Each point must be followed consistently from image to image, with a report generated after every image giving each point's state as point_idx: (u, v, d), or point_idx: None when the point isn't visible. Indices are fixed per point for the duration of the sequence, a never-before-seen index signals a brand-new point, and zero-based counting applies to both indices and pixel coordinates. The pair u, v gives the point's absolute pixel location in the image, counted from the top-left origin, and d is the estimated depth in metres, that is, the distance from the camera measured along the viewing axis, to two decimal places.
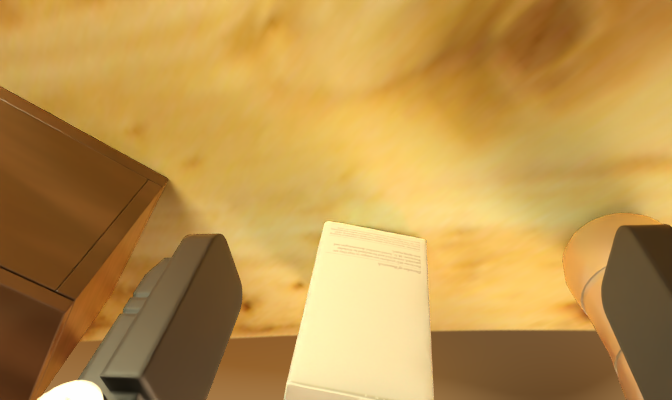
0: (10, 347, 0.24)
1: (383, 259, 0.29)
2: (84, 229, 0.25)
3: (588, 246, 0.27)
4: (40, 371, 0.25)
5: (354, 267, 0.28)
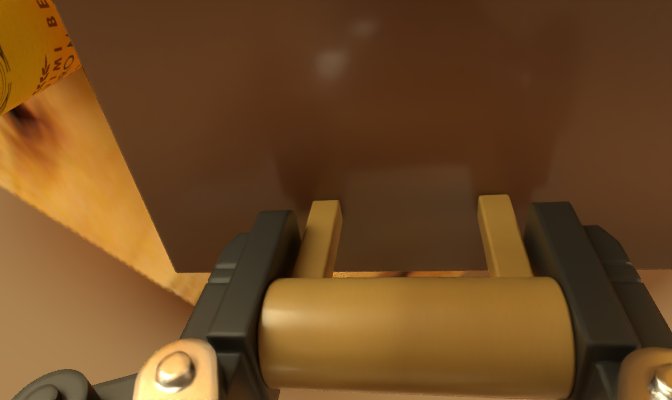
0: None
1: None
2: None
3: None
4: None
5: None
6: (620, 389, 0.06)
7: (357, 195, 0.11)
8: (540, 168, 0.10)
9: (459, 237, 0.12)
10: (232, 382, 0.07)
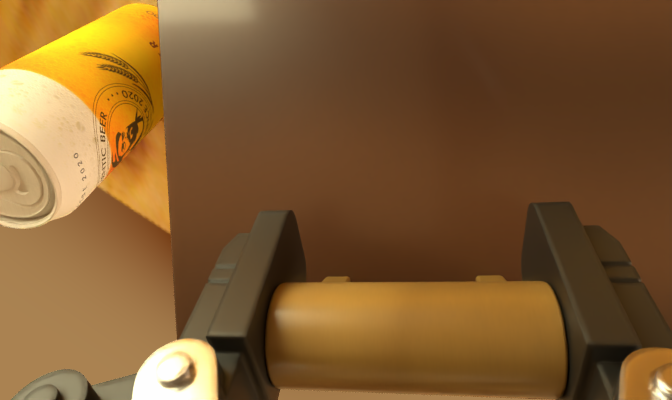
0: None
1: None
2: None
3: None
4: None
5: None
6: (621, 389, 0.06)
7: (366, 272, 0.12)
8: None
9: None
10: (232, 382, 0.07)
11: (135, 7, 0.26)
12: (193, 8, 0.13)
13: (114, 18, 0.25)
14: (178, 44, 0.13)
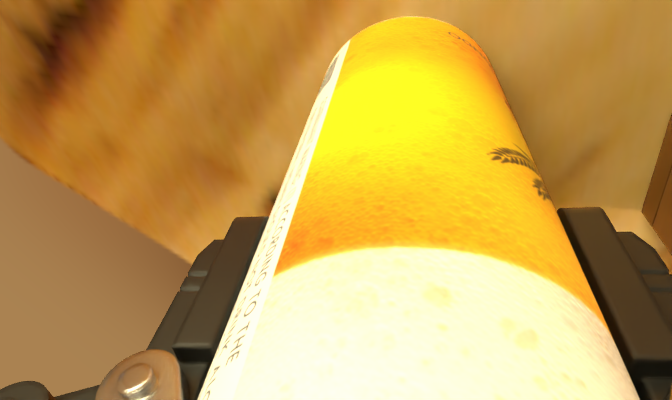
0: None
1: None
2: None
3: None
4: None
5: None
6: None
7: None
8: None
9: None
10: (196, 393, 0.07)
11: (422, 25, 0.13)
12: None
13: (424, 49, 0.12)
14: None
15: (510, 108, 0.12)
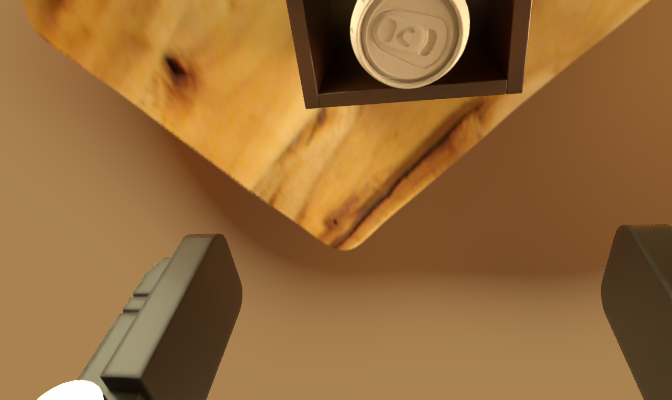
0: None
1: None
2: None
3: None
4: None
5: None
6: None
7: None
8: None
9: None
10: None
11: None
12: None
13: None
14: None
15: None
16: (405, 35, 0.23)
